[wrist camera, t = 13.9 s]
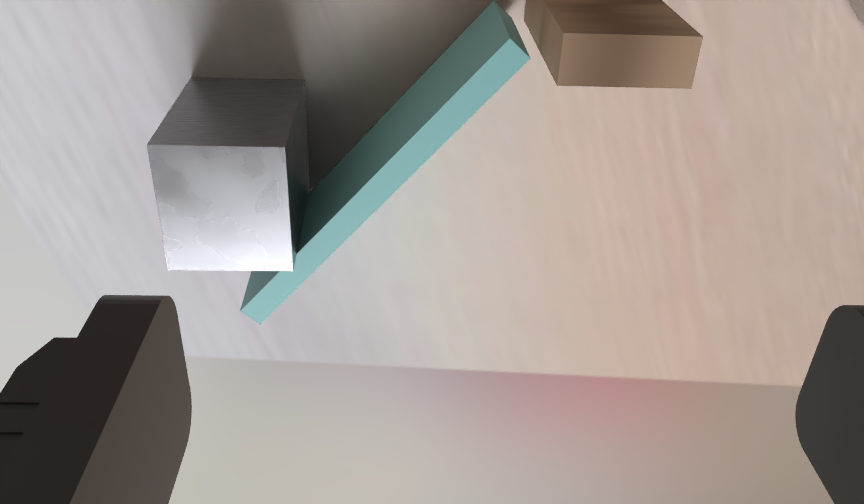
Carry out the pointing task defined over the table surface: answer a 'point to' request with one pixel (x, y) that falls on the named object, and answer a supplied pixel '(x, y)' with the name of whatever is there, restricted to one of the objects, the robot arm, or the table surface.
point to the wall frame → (614, 43)
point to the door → (396, 149)
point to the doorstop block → (232, 174)
